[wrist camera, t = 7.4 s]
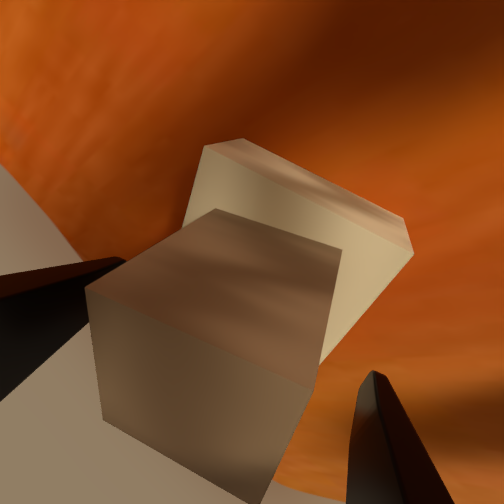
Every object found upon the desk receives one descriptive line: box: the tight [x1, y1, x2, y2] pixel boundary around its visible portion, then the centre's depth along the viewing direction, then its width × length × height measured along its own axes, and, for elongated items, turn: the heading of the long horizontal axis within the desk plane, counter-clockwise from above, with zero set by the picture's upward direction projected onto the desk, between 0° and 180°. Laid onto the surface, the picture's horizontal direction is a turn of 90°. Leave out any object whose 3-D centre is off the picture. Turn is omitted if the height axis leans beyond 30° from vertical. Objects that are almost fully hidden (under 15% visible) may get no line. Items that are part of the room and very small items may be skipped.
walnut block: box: [85, 208, 342, 504], centre depth 9 cm, size 5×5×6 cm
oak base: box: [182, 138, 414, 365], centre depth 13 cm, size 8×8×4 cm
